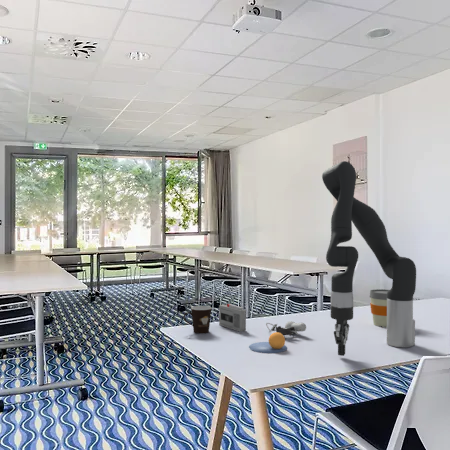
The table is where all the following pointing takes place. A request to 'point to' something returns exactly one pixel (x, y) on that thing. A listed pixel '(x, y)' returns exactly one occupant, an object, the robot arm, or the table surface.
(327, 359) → the table surface
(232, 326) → the cassette player
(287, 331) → the clip-on lamp
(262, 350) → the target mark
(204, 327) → the coffee mug
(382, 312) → the reusable coffee cup
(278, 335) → the ball
